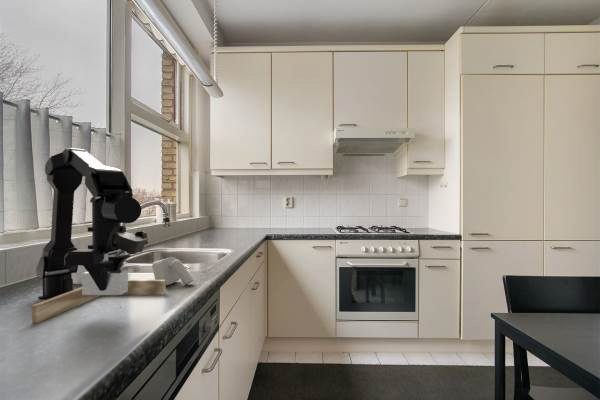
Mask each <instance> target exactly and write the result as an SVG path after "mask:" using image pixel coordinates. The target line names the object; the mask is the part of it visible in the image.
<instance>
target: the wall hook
mask: <svg viewBox="0 0 600 400" xmlns="http://www.w3.org/2000/svg"><path fill="white" fill-rule="evenodd" d="M151 266H152V267H151V268H152V272H153V277H154V280H166V286H168V285H172V284H173V283H176V282H178V281H180V280H181V282H182V284H184V286H185V285H186V284H188V285H189V284H191V283H193V281H194V278H193V277H192V275H191V274H190V272H189V271H188V269H187V268H186V267H185V265H184V264H183V262H182V261H181V260H180V259H177V258H176V257H175V256H171V257H167V258H162V259H160V260H156V261H153V262H152V265H151ZM186 286H187V285H186Z"/></svg>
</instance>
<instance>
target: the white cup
mask: <svg viewBox="0 0 600 400" xmlns="http://www.w3.org/2000/svg"><path fill="white" fill-rule="evenodd" d="M85 272H88V271H87V270H86V269H85V267H84V266H83V265H78V270H77V273H72V279H73V285H82V273H85Z"/></svg>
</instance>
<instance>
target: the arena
mask: <svg viewBox="0 0 600 400" xmlns="http://www.w3.org/2000/svg"><path fill="white" fill-rule="evenodd" d="M166 287H167V285H166V280H155V279H128V291H127V292H125V293H123V294H121V295H123V296H126V295H132V296H133V295H138V296H139V295H142V296H143V295H147V296H148V295H151V296H152V295H158V296H159V295H162V296H163V295H165V294H166V291H167V288H166ZM121 295H120V296H121ZM101 296H102V295H82V286H81V287H78V288H75V289H73V290H72V291H70V292H67V293H64V294H62V295H59V296H56V297H53V298H51V299H45V300H43V301H41V302H38V303H36V304H32V305H31V318H32V321H31V322H32V324H40V323H42V322H45V321H47V320H49V319H52V318H53V317H56V316H58V315H60V314H62V313H65V312H66V311H70V310H72V309H73V308H76V307H78V306H79V305H80V306H81V305H82V304H83V305H84V304H85V303H87V302H90V301H91V300H94V299H96V298H98V297H101Z"/></svg>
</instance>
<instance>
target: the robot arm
mask: <svg viewBox="0 0 600 400" xmlns="http://www.w3.org/2000/svg"><path fill="white" fill-rule="evenodd" d="M44 173H45V175H46V181H47V182H48V184H49V185H50V186H51V189H52V190H53V196H52V197H53V198H52V214H51V228H50V230H51V231H50V240H49V241H48V243H46V244H45V246H44V247H43V248H42V256H40V259H39V261H38V263H37V266H36V268H35V273H36V277H37V278H39V279H42V295H40V296H38V297H37V299H38V300H39V299H41V300H44V299H45V300H48V299H51V298H53V297H56V296H59V295H62V294H64V293H67V292H70V291H72V290H74V284H73V279H72V273H77V270H78V265H83V266H84V267H85V269H86V270H87V271H88V273H89V274H90V276H91V277H92V279H93V280H94V282H95V283H96V285H97V287H98V288H99V290H100V291H104V290H105V289H106V282H107V270H122V265H123V263H124V262H125V261H127V260H128V259H129V258H131V256H132V255H136V254H137V253H142V252H143V250H144V247H145V246H146V245H148V244H149V241H148V232H146V231H144V230H139V231H137V232H135V233H134V232H131V233H130V232H128V231H127V227H126V225H121V224H131V223H134V222H136V221H137V220H138V219H139V218H140V217H141V214H142V207H141V204H140V203H139V201H138V200H137V199H136V198H134V197H133V196H134V194H133V188H132V187H131V185H130V183H129V181H128V179H127V176H126V175H125V173H124V171H123V170H121V169H118V168H116V167H111V166H107V165H104V163H102V162H100V161H99V160H98V159H97V158H95V157H94V156H93V155H92V154H90V151H88V150H86V149H83V148H82V149H81V148H73V147H68V148H64V150H62V152H60V153H59V152H58V153H56V154H54V155H52V156H51V155H50V157H49V158H48V160H47V161H46V162H45V165H44ZM83 177H84V185H85V187H86V188H87V190H88V191H89V192H90V194H91V195H92V197H91V198H90V200H89V203H90V204H91V207H92V208H91V222H92V223H91V226H88V227H87V233H89V232H91V233H92V235H91V236H92V239H91V241H92V244H88V245H87V248H86V249H85V248H81V249H80V248H79V249H78V248H77V247H76V246H75V244H73V241H72V232H73V231H72V229H73V219H74V218H73V215H74V203H75V201H74V199H75V192H76V190H77V189H78V188H79V187H80V185H82V183H83Z"/></svg>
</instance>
